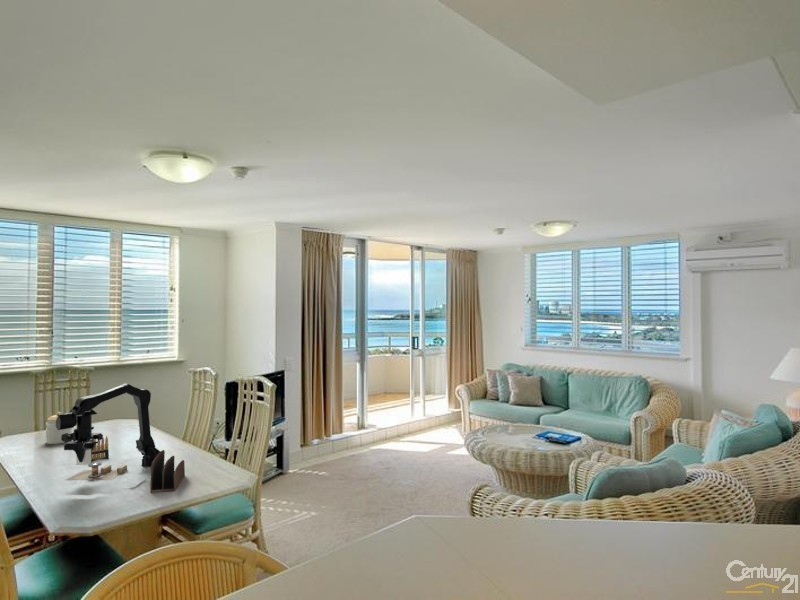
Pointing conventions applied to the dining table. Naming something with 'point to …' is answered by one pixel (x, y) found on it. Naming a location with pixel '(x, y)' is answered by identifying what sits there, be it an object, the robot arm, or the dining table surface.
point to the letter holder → (165, 474)
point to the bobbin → (94, 469)
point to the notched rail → (108, 468)
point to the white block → (85, 458)
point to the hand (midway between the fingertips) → (84, 460)
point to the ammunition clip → (100, 450)
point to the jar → (55, 431)
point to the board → (84, 476)
